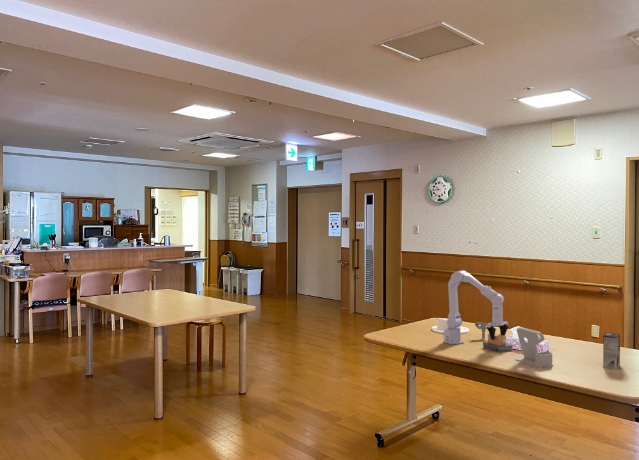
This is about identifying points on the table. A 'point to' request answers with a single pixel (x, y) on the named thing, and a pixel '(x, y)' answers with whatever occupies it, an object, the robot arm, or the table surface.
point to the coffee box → (611, 350)
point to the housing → (497, 339)
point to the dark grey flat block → (497, 347)
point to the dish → (445, 326)
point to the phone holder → (533, 348)
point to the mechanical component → (481, 327)
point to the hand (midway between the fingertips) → (497, 338)
